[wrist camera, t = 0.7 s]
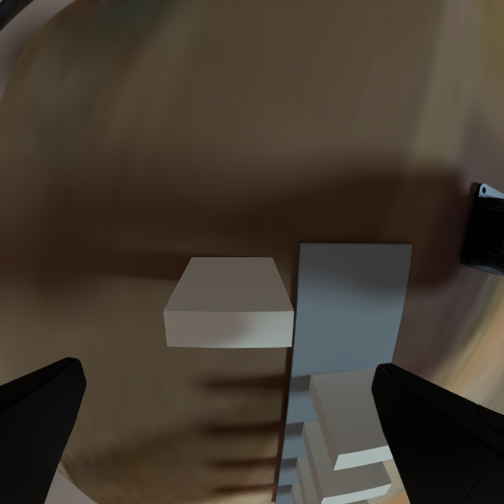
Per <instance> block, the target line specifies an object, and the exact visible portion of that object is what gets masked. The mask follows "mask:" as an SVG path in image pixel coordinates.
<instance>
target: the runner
mask: <svg viewBox="0 0 504 504" xmlns="http://www.w3.org/2000/svg"><path fill="white" fill-rule="evenodd" d="M412 247H413V245H411V244H365V243H300V246H299V266H298V284H297V300H296V314H295V328H294V340H293V352H292V364H291V375H290V385H289V395H288V404H287V414H286V422H285V431H284V439H283V447H282V455H281V463H280V470H279V478H278V485H277V491H276V498H275V504H289V503H293V501H292V495H291V488H292V484H299V480H298V475H297V470H296V463H297V458H298V457H306V456H307V454H306V449H305V445H304V441H303V437H302V430H303V425H304V422H308V421H318V419H317V416H316V412H315V409H314V406H313V403H312V400H311V396H310V393H309V386H310V379H311V375H313V374H325V373H337V372H347V371H356V370H364V369H372V368H373V369H374V371H375V370H376V367H377V366H378V365H379V364H383V363H391V360H392V356H393V352H394V348H395V344H396V339H397V335H398V330H399V326H400V321H401V316H402V311H403V306H404V300H405V295H406V289H407V283H408V276H409V270H410V262H411V255H412Z"/></svg>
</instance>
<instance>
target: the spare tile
mask: <svg viewBox="0 0 504 504" xmlns="http://www.w3.org/2000/svg"><path fill="white" fill-rule="evenodd" d="M293 320H294V310H293V307H292V305H291V302H290V300H289V297H288V295H287V292H286V290H285V287H284V285H283V282H282V280H281V277H280V275H279V273H278V270H277V268H276V265H275V263H274V260H273V258H272V257H192V258H191V260H190V262H189V264H188V266H187V267H186V269H185V271H184V273H183V275H182V277H181V279H180V280H179V282H178V284H177V286H176V288H175V290H174V292H173V293H172V295H171V297H170V299H169V301H168V303H167V305H166V307H165V309H164V321H165V330H166V338H167V346H175V347H204V348H268V347H291V346H292V334H293Z"/></svg>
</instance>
